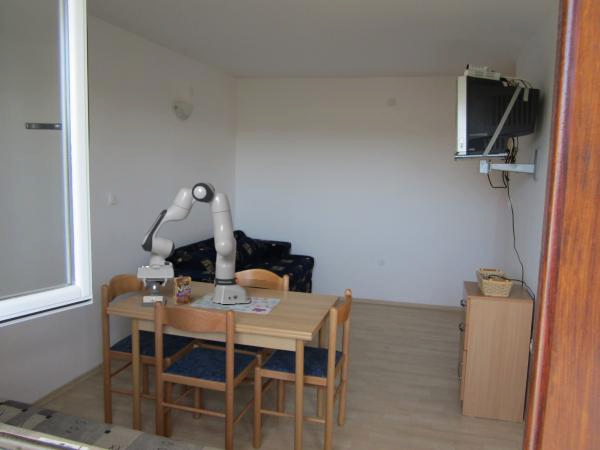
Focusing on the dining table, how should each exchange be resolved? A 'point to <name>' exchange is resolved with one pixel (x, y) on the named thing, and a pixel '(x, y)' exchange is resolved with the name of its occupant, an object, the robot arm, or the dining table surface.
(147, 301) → the scale
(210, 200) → the robot arm
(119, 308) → the dining table surface
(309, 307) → the dining table surface
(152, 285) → the steel weight
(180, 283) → the candy box
